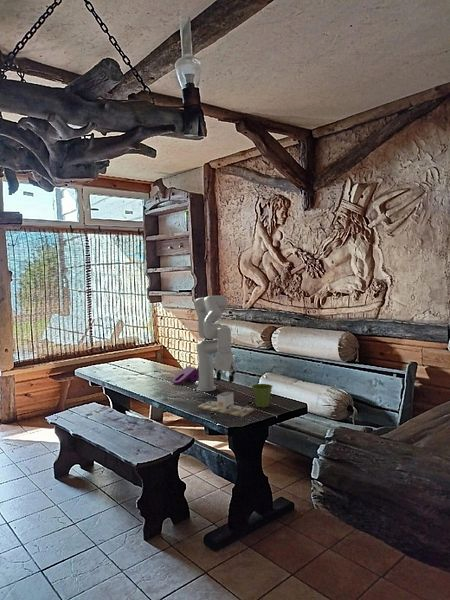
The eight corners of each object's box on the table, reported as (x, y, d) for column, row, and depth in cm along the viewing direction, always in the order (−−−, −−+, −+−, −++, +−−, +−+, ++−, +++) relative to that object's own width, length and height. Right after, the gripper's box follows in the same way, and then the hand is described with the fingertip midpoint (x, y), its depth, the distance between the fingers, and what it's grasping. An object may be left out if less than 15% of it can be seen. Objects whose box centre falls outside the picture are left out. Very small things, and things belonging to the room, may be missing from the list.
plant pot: (277, 405, 258) (276, 385, 257) (264, 410, 249) (264, 390, 248) (260, 401, 265) (260, 382, 265) (247, 406, 257) (247, 386, 256)
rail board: (197, 407, 256) (197, 406, 256) (210, 402, 266) (210, 400, 266) (242, 416, 239) (242, 415, 239) (254, 410, 248) (254, 409, 248)
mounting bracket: (182, 393, 308) (200, 377, 318) (178, 383, 305) (196, 367, 315) (174, 390, 314) (191, 375, 325) (169, 381, 311) (187, 365, 322)
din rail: (205, 404, 258) (205, 401, 258) (208, 403, 261) (208, 400, 261) (243, 412, 243) (243, 409, 243) (247, 410, 246) (247, 407, 246)
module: (216, 409, 250) (216, 394, 249) (226, 404, 257) (226, 391, 256) (224, 410, 247) (223, 396, 246) (233, 406, 254) (233, 392, 254)
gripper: (207, 349, 252) (208, 380, 253) (233, 352, 242) (234, 384, 243) (215, 347, 258) (216, 377, 259) (241, 349, 248) (242, 381, 249)
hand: (225, 380), depth 251 cm, fingers open, 7 cm apart
